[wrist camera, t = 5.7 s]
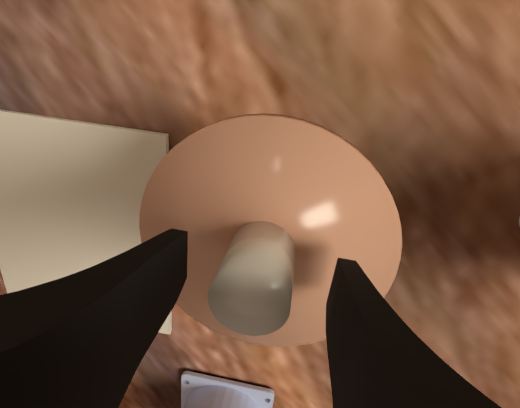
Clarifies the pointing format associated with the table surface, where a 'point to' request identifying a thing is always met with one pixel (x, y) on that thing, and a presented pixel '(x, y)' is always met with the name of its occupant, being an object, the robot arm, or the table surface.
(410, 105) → the table surface
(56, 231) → the mat
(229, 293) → the lid
